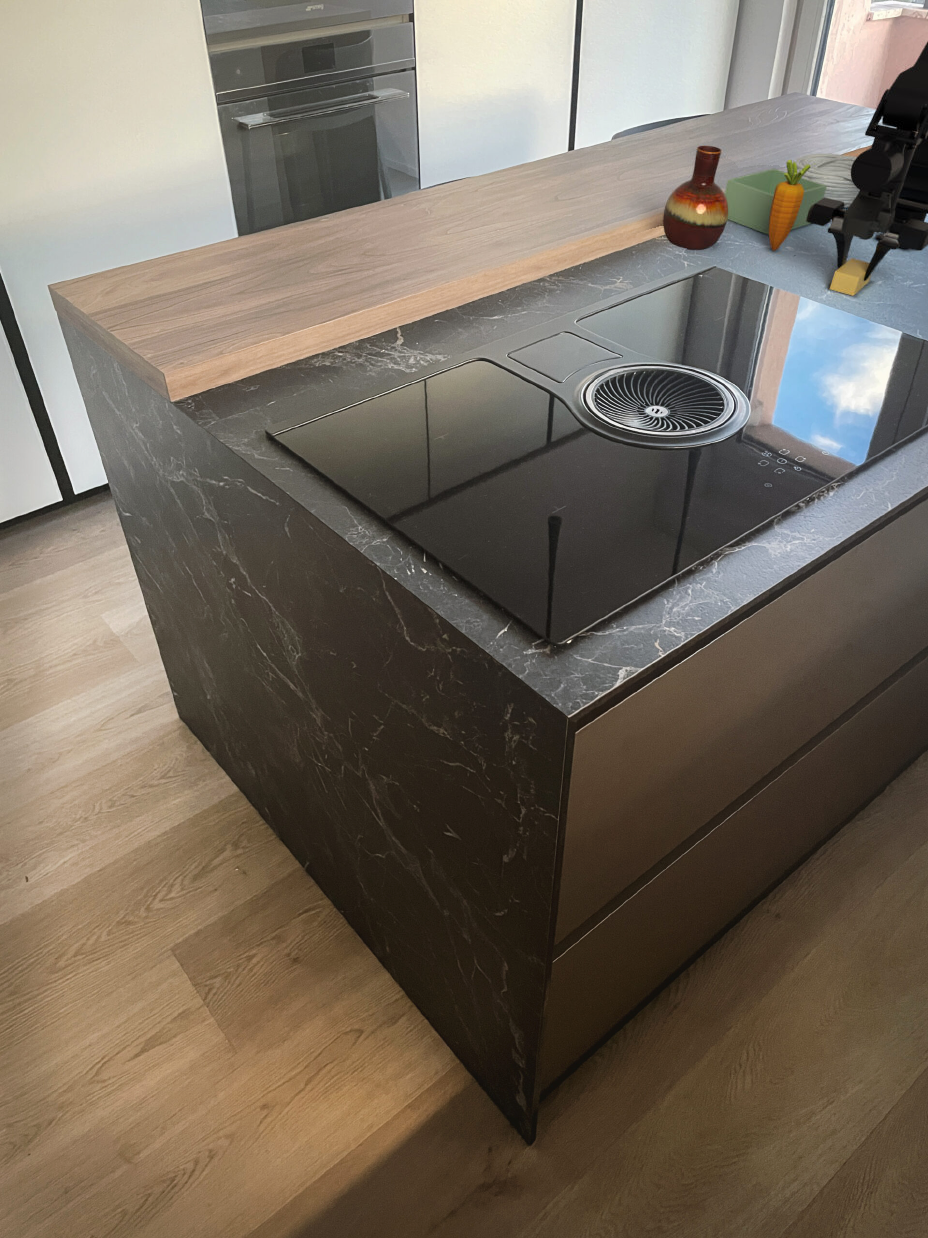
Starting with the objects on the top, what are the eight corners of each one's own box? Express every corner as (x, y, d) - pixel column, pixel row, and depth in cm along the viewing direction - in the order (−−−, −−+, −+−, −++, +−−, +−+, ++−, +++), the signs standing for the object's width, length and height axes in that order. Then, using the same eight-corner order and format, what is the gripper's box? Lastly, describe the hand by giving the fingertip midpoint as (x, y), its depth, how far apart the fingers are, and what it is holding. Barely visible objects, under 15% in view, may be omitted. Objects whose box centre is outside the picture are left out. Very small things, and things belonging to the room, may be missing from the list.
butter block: (845, 275, 159) (851, 257, 157) (868, 281, 157) (875, 263, 155) (829, 289, 154) (835, 271, 152) (853, 295, 152) (859, 277, 150)
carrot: (791, 249, 166) (816, 159, 156) (782, 257, 163) (808, 166, 153) (764, 243, 168) (788, 153, 158) (755, 251, 165) (778, 160, 155)
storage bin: (764, 203, 185) (773, 168, 181) (816, 221, 178) (827, 185, 174) (719, 216, 178) (727, 179, 174) (771, 235, 171) (781, 198, 167)
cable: (877, 179, 176) (869, 212, 180) (888, 154, 188) (880, 185, 192) (783, 170, 182) (777, 202, 186) (799, 146, 194) (794, 177, 198)
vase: (693, 227, 173) (712, 136, 162) (734, 248, 166) (756, 154, 155) (646, 235, 168) (662, 142, 158) (686, 257, 161) (706, 161, 151)
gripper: (808, 173, 143) (780, 274, 153) (931, 203, 135) (893, 307, 145) (833, 158, 150) (805, 256, 160) (952, 185, 142) (914, 286, 152)
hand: (852, 276), depth 154 cm, fingers closed on butter block, 4 cm apart
